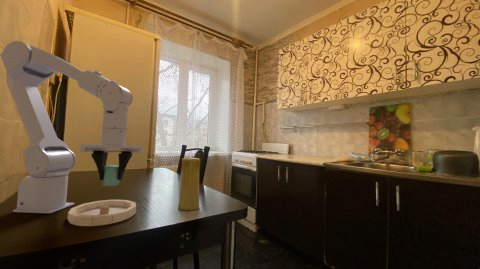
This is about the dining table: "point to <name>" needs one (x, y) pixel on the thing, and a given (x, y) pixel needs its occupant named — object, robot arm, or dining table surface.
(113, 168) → the teal green block
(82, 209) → the ring tray
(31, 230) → the dining table surface
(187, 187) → the vase
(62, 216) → the dining table surface
